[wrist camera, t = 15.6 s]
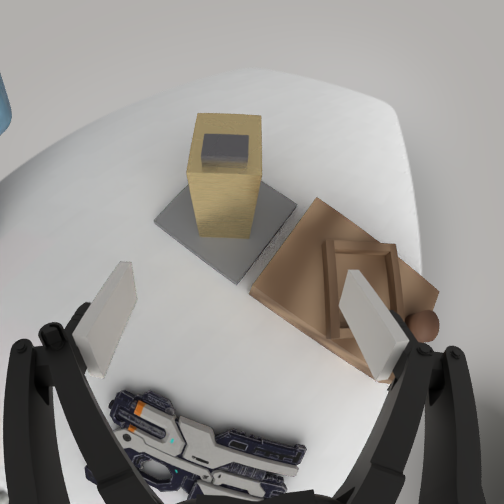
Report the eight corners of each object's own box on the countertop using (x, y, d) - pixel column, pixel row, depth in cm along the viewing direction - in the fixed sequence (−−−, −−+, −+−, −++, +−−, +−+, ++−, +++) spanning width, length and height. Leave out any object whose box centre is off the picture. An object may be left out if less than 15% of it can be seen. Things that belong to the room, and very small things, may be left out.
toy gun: (88, 475, 19) (122, 372, 24) (251, 540, 17) (303, 442, 23) (77, 482, 16) (111, 373, 21) (253, 552, 15) (310, 450, 20)
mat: (155, 223, 29) (153, 220, 28) (218, 159, 32) (218, 154, 32) (236, 285, 27) (236, 283, 27) (295, 207, 31) (297, 204, 30)
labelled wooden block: (199, 237, 28) (184, 161, 16) (204, 186, 30) (196, 102, 18) (249, 238, 28) (264, 164, 17) (250, 188, 30) (262, 104, 19)
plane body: (247, 295, 27) (253, 279, 21) (307, 214, 31) (325, 182, 25) (377, 383, 25) (413, 388, 19) (419, 297, 28) (454, 284, 22)
